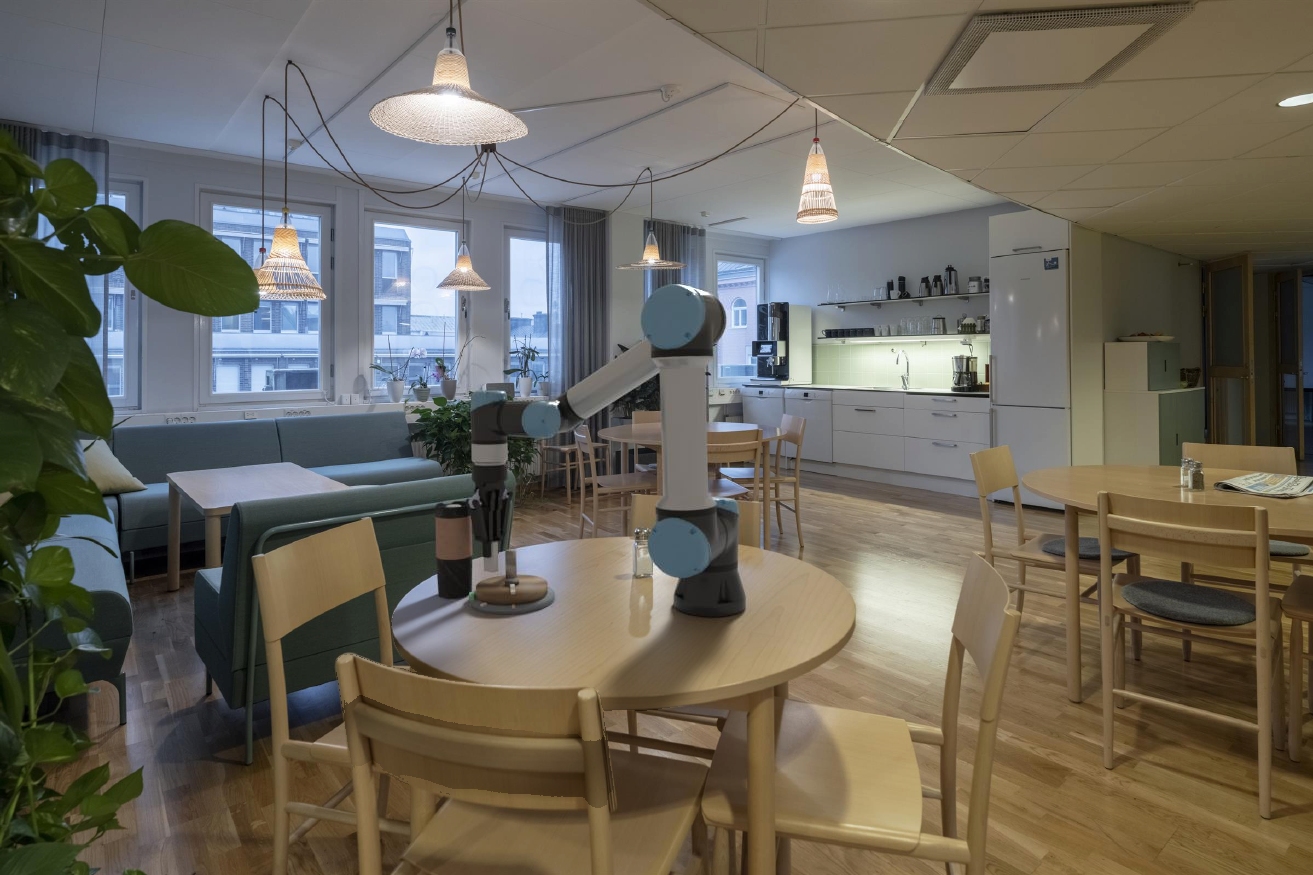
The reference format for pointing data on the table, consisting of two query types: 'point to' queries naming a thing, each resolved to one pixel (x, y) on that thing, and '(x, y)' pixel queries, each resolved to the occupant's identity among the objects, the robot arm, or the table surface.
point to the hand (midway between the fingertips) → (491, 570)
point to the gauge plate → (511, 609)
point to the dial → (511, 585)
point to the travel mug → (453, 550)
